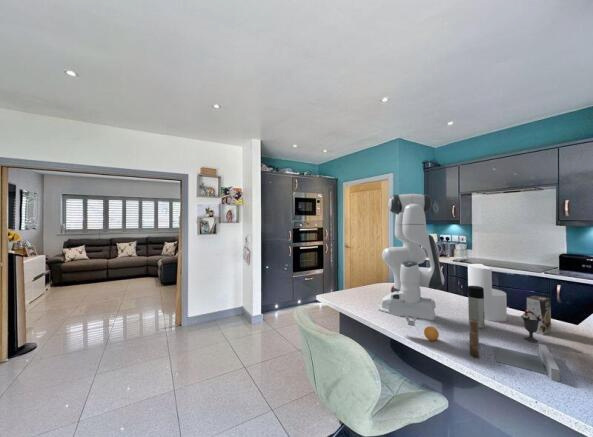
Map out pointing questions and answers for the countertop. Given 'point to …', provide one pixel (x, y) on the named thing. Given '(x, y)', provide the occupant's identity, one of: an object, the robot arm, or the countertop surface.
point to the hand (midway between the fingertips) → (411, 325)
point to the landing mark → (519, 359)
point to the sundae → (530, 324)
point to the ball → (431, 333)
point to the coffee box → (541, 312)
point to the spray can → (476, 305)
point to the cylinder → (488, 292)
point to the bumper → (549, 363)
